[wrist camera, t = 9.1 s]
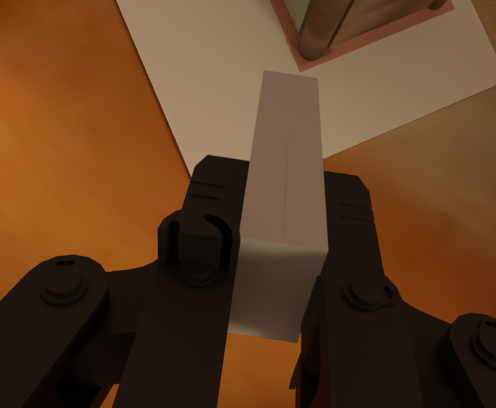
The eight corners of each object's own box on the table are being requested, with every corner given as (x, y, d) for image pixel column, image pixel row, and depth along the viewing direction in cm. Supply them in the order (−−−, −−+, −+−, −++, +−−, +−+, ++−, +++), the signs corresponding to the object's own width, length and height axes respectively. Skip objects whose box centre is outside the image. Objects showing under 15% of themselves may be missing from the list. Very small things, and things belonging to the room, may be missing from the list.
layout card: (388, -170, 36) (390, -175, 36) (504, 81, 35) (508, 79, 35) (91, -58, 35) (89, -62, 34) (205, 209, 34) (204, 208, 33)
